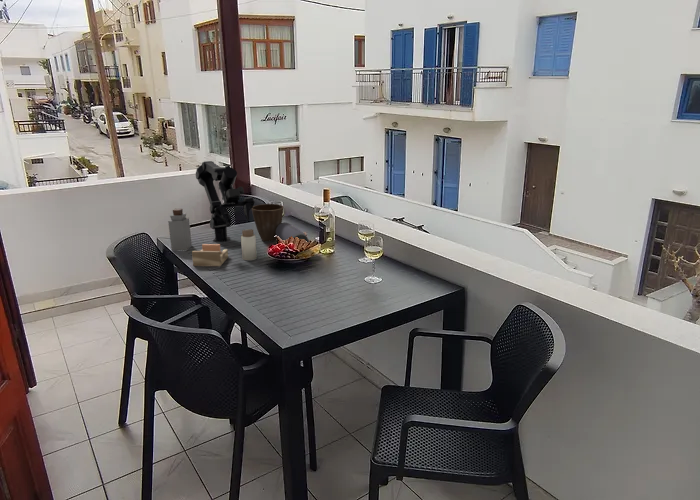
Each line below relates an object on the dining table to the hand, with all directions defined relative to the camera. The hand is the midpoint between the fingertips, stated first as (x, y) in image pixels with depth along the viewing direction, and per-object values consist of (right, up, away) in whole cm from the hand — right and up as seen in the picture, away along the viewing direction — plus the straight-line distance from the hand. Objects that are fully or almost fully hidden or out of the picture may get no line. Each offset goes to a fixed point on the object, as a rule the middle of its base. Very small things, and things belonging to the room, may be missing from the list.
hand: (238, 221), depth 200 cm
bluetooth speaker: (+22, -11, +13) cm, 28 cm away
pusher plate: (-10, -16, -4) cm, 19 cm away
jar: (+5, -16, -1) cm, 17 cm away
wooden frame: (-10, -17, -5) cm, 20 cm away
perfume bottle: (-28, -12, +12) cm, 33 cm away
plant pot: (+9, -7, +25) cm, 28 cm away
